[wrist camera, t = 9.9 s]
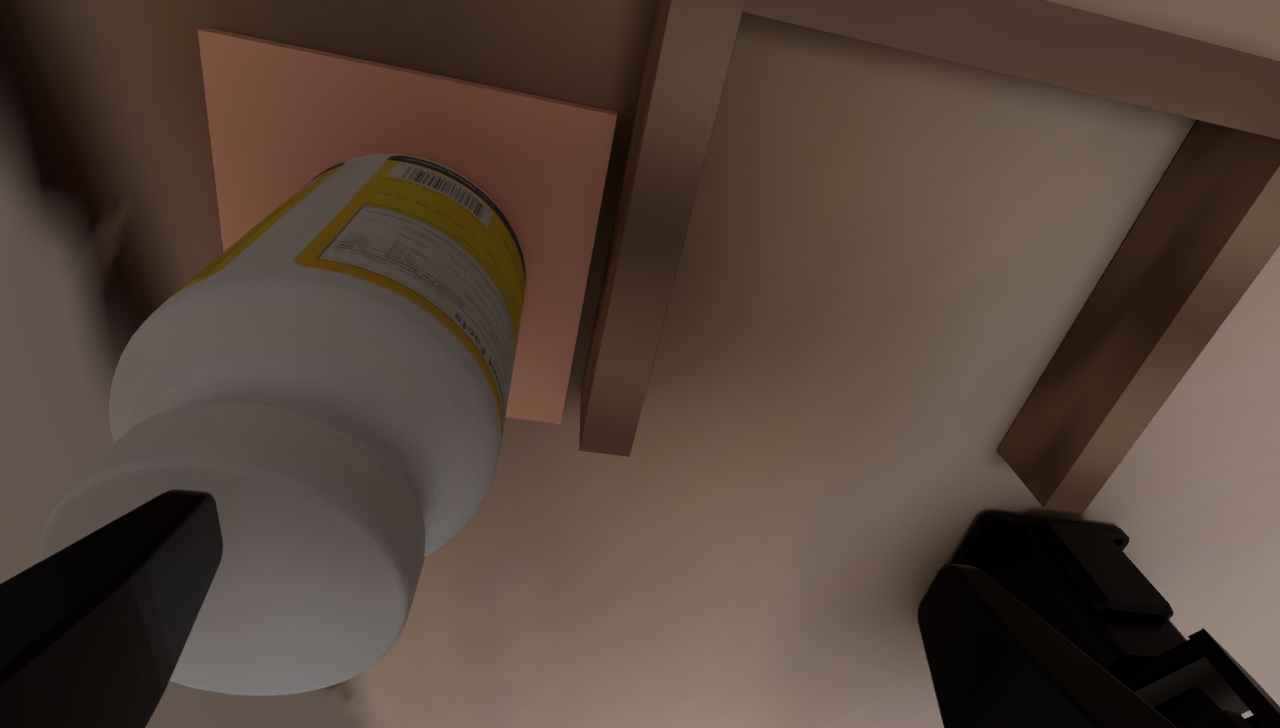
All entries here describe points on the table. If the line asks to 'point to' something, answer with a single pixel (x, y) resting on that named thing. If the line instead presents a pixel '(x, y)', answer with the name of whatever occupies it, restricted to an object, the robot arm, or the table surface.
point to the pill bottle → (320, 416)
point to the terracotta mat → (428, 128)
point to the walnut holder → (1022, 47)
